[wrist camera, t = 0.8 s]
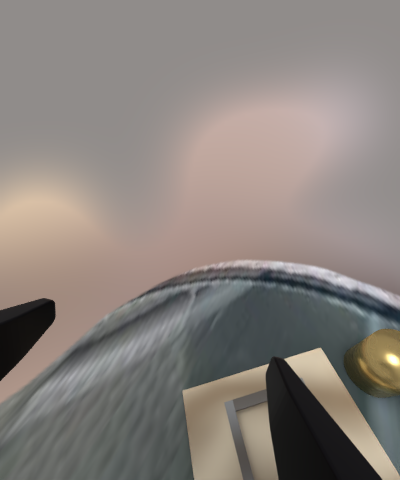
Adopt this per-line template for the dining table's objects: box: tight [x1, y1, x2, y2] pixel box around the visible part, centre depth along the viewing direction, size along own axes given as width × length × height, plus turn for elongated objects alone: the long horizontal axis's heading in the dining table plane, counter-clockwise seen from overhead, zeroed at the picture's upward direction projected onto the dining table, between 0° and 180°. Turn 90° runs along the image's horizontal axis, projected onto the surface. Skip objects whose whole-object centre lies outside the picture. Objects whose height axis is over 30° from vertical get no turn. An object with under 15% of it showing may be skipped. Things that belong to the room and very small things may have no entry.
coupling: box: [344, 329, 400, 398], centre depth 19 cm, size 5×5×6 cm
